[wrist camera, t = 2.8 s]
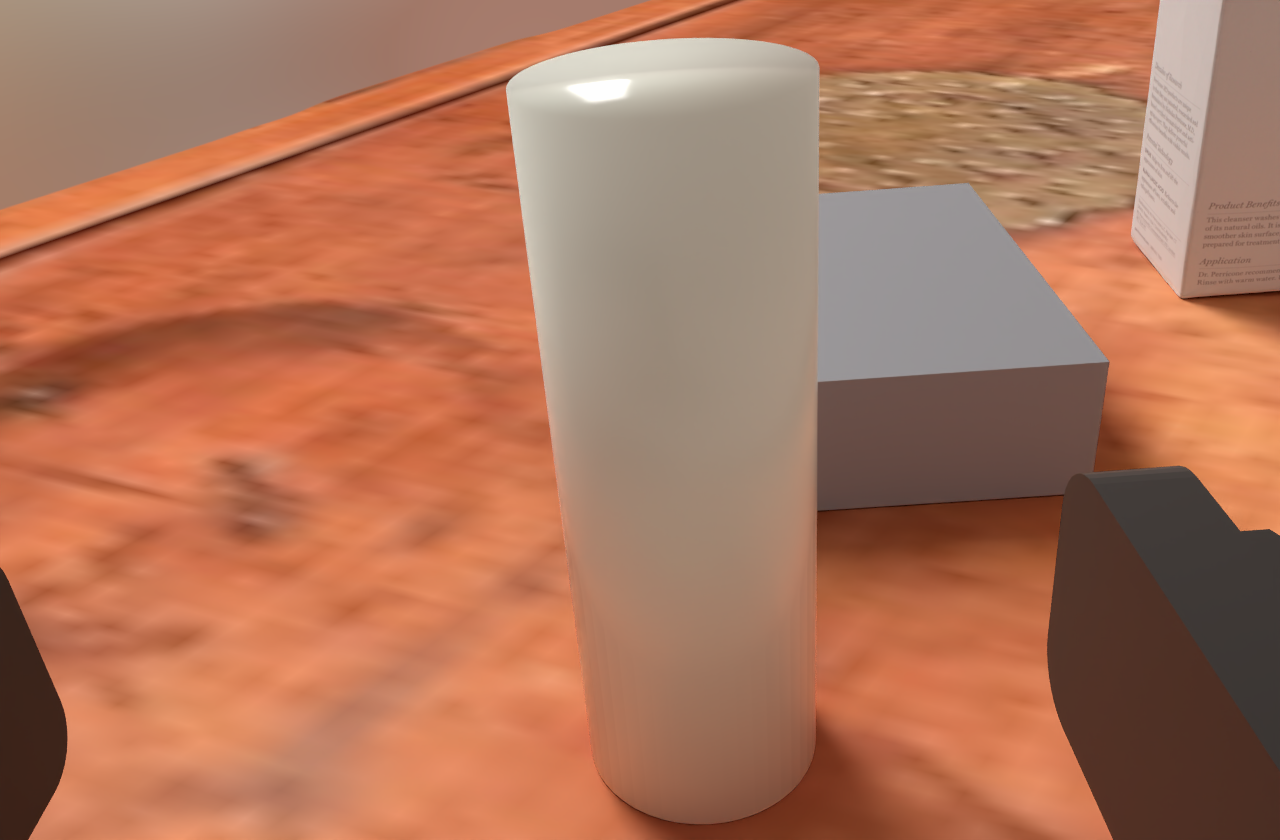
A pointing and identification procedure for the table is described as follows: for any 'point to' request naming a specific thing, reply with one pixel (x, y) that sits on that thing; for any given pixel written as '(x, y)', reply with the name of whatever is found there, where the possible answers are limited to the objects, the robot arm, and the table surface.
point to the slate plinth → (943, 357)
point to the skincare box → (1212, 149)
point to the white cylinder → (682, 403)
